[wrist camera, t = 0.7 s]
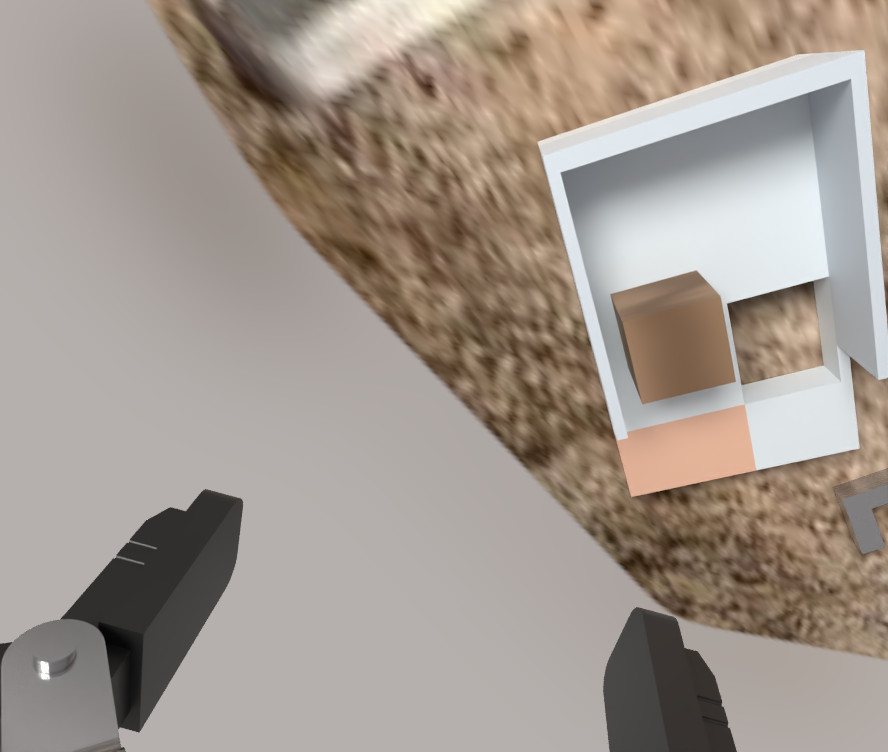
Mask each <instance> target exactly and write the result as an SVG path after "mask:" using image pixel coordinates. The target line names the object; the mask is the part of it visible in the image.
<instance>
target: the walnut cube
mask: <svg viewBox="0 0 888 752" xmlns="http://www.w3.org/2000/svg"><path fill="white" fill-rule="evenodd" d="M610 295H611V299H612V303H613V308H614V312H615V316H616V320H617V324H618V328H619V332H620V336H621V340H622V344H623V348H624V353H625V357H626V361H627V365H628V369H629V371H630V374H631V376H632V379H633V382H634V384H635V387H636V389H637V392H638V394H639V397H640V399H641V402H642V404H646V403H650V402H655V401H659V400H663V399H667V398H671V397H675V396H679V395H684V394H688V393H692V392H696V391H700V390H704V389H708V388H713V387H717V386H721V385H725V384H729V383H733V382H736V378H735V373H734V367H733V362H732V356H731V351H730V345H729V339H728V334H727V328H726V323H725V317H724V312H723V306H722V300H721V296H720V295H719V294H718V293H717V292H716V291H715V290H714V288H713V287H712V286H711V285H710V284H709V283H708V282H707V281H706V280H705V279H704V278H703V277H702V276H701V275H700V273H699V272H698V271H697V270H695V271H692V272H688V273H685V274H681V275H677V276H674V277H670V278H667V279H663V280H659V281H656V282H652V283H649V284H645V285H641V286H638V287H634V288H631V289H627V290H624V291H620V292H616V293H613V294H610Z"/></svg>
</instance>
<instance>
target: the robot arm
mask: <svg viewBox="0 0 888 752" xmlns="http://www.w3.org/2000/svg"><path fill="white" fill-rule="evenodd" d="M242 510H243V501H242V499H240V498H237V497H233V496H229V495H226V494H222V493H218V492H215V491H211V490H206V489H205V490H203V491H202V492H201V493H200V494H199V496H198V497H197V498H196V499H195V501H194V502H193V503H192V504H191V506H190V507H189V508H188V509H187V511H182V510H178V509H174V508H168V509H166V510H164V511H163V512H161V513H159V514H158V515H156V516H154V517H152V518H150V519H148V520H146V521H145V522H144V524H143V525H142V526H141V527H140V529H139V530H138V531H137V532H136V533H135V534H134V535H133V536H132V538H131V539H130V541H129V543H126V545H125V546H124V547H123V548H122V549H121V550H120V551H119V553H118V554H117V556H116V558H115V559H112V561H111V562H110V563H109V564H108V565H107V566H106V567H105V569H104V570H103V571H102V572H101V573H100V574H99V576H98V577H97V578H96V579H95V580H94V582H93V583H92V584H91V585H90V586H89V587H88V588H87V589H86V591H85V592H84V593H83V594H82V595H81V596H80V597H79V599H78V600H77V601H76V602H75V603H74V605H73V606H72V607H71V608H70V609H69V610H68V611H67V613H66V614H65V615H64V616H63V617H62V618H61V619H60V620H53V621H49V622H46V623H42V624H40V625H37V626H35V627H33V628H31V629H29V630H27V631H26V632H24V633H23V634H21V635H20V636H19V637H18V638H16V639H15V640H14V641H13V642H10V643H5V644H4V643H3V644H0V752H126V751H125V748H124V747H123V748H121V744H120V738H119V732H118V729H119V728H120V727H121V728H125V729H129V730H132V731H136V732H140V731H141V729H142V727H143V726H144V724H145V722H146V720H147V719H148V717H149V716H150V714H151V712H152V711H153V709H154V707H155V706H156V704H157V702H158V701H159V699H160V697H161V696H162V694H163V692H164V691H165V689H166V687H167V685H168V684H169V682H170V681H171V679H172V677H173V676H174V674H175V672H176V671H177V669H178V667H179V666H180V664H181V662H182V661H183V659H184V657H185V656H186V654H187V652H188V651H189V649H190V647H191V646H192V644H193V642H194V641H195V639H196V637H197V636H198V634H199V632H200V631H201V629H202V627H203V626H204V624H205V622H206V620H207V619H208V617H209V616H210V614H211V612H212V611H213V609H214V607H215V606H216V604H217V602H218V601H219V599H220V597H221V596H222V594H223V592H224V591H225V589H226V587H227V585H228V583H229V581H230V578H231V576H232V573H233V570H234V567H235V563H236V559H237V552H238V543H239V535H240V526H241V518H242ZM603 692H604V702H605V712H606V721H607V730H608V740H609V749H610V752H737V751H736V747H735V744H734V741H733V737H732V734H731V730H730V728H728V720H727V717H726V713H725V710H724V707H722V700H721V696H720V693H719V689H718V686H717V683H716V679H715V676H714V675H713V673H712V672H711V671H710V669H709V667H708V666H707V664H706V663H705V661H704V660H703V659H702V657H701V656H700V654H699V653H698V652H697V651H693V650H690V649H686V648H684V645H683V640H682V636H681V632H680V629H679V625H678V622H677V620H676V618H674V617H672V616H668V615H664V614H661V613H657V612H653V611H650V610H646V609H642V608H638V607H636V608H635V609H634V610H633V611H632V612H631V615H630V616H629V618H628V621H627V623H626V625H625V627H624V629H623V631H622V633H621V635H620V637H619V639H618V641H617V643H616V645H615V648H614V650H613V652H612V654H611V656H610V658H609V660H608V663H607V667H606V671H605V676H604V686H603Z"/></svg>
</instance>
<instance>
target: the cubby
mask: <svg viewBox="0 0 888 752" xmlns="http://www.w3.org/2000/svg"><path fill="white" fill-rule="evenodd" d="M538 146H539V150H540V154H541V158H542V161H543V165H544V169H545V173H546V176H547V180H548V184H549V188H550V192H551V195H552V199H553V203H554V207H555V211H556V214H557V218H558V222H559V226H560V230H561V233H562V237H563V241H564V245H565V248H566V252H567V256H568V260H569V264H570V267H571V271H572V275H573V279H574V283H575V286H576V290H577V294H578V298H579V302H580V305H581V309H582V313H583V317H584V321H585V324H586V328H587V332H588V336H589V339H590V343H591V347H592V351H593V355H594V358H595V362H596V366H597V370H598V374H599V377H600V381H601V385H602V389H603V393H604V396H605V400H606V404H607V408H608V411H609V415H610V419H611V423H612V427H613V430H614V434H615V438H616V442H617V446H618V449H619V453H620V457H621V461H622V465H623V468H624V472H625V476H626V480H627V483H628V487H629V490H630V494H631V497H634V496H638V495H643V494H648V493H652V492H657V491H662V490H667V489H671V488H676V487H681V486H685V485H690V484H695V483H699V482H704V481H709V480H714V479H718V478H723V477H728V476H732V475H737V474H742V473H746V472H751V471H756V470H761V469H765V468H770V467H775V466H779V465H784V464H789V463H793V462H798V461H803V460H807V459H812V458H817V457H822V456H826V455H831V454H836V453H840V452H845V451H850V450H854V449H859V439H858V430H857V420H856V411H855V402H854V392H853V383H852V374H851V364H850V356H851V357H852V358H853V359H854V360H855V361H857V362H858V363H859V364H860V365H861V366H862V367H864V368H865V369H866V370H867V371H868V372H870V373H871V374H872V375H873V376H874V377H876V378H877V379H878V380H881V379H885V378H888V329H887V317H886V305H885V293H884V281H883V269H882V257H881V245H880V233H879V221H878V209H877V197H876V185H875V172H874V160H873V148H872V136H871V124H870V112H869V100H868V88H867V76H866V64H865V52H864V50H858V51H843V52H829V53H814V54H799V55H795V56H792V57H789V58H786V59H783V60H780V61H777V62H774V63H771V64H768V65H765V66H762V67H759V68H756V69H753V70H750V71H747V72H745V73H742V74H739V75H736V76H733V77H730V78H727V79H724V80H721V81H718V82H715V83H712V84H709V85H706V86H703V87H700V88H697V89H694V90H691V91H688V92H685V93H682V94H679V95H676V96H673V97H670V98H667V99H664V100H661V101H658V102H655V103H652V104H649V105H646V106H643V107H640V108H637V109H634V110H631V111H628V112H625V113H622V114H619V115H616V116H613V117H610V118H607V119H604V120H601V121H598V122H595V123H592V124H589V125H586V126H583V127H580V128H577V129H574V130H571V131H568V132H565V133H562V134H559V135H556V136H553V137H550V138H547V139H545V140H542V141H539V142H538ZM695 270H697V271H698V272H699V273H700V275H701V276H702V277H703V278H704V279H705V280H706V281H707V282H708V283H709V284H710V285H711V286H712V287H713V288H714V290H715V291H716V292H717V293H718V294H719V295H720V296H721V300H722V306H723V312H724V317H725V323H726V328H727V334H728V339H729V345H730V351H731V356H732V362H733V367H734V373H735V378H736V382H733V383H729V384H725V385H721V386H717V387H713V388H708V389H704V390H700V391H696V392H692V393H688V394H684V395H679V396H675V397H671V398H667V399H663V400H659V401H655V402H650V403H646V404H642V402H641V399H640V397H639V394H638V392H637V389H636V387H635V384H634V382H633V379H632V376H631V374H630V371H629V369H628V365H627V361H626V357H625V353H624V348H623V344H622V340H621V336H620V332H619V328H618V324H617V320H616V316H615V312H614V308H613V303H612V299H611V295H610V294H613V293H616V292H620V291H624V290H627V289H631V288H634V287H638V286H641V285H645V284H649V283H652V282H656V281H659V280H663V279H667V278H670V277H674V276H677V275H681V274H685V273H688V272H692V271H695ZM810 281H813V283H814V291H815V299H816V307H817V315H818V323H819V332H820V340H821V348H822V356H823V364H824V366H820V367H815V368H811V369H807V370H803V371H799V372H795V373H790V374H786V375H782V376H778V377H774V378H770V379H765V380H761V381H757V382H753V383H749V384H745V385H741V380H740V375H739V369H738V363H737V358H736V352H735V346H734V341H733V335H732V330H731V324H730V318H729V313H728V307H727V303H731V302H735V301H738V300H742V299H746V298H750V297H753V296H757V295H761V294H765V293H768V292H772V291H776V290H780V289H783V288H787V287H791V286H795V285H799V284H802V283H806V282H810Z"/></svg>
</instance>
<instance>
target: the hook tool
mask: <svg viewBox="0 0 888 752" xmlns="http://www.w3.org/2000/svg"><path fill="white" fill-rule="evenodd" d="M833 489H834V492H835V495H836V497H837V500H838V503H839V505H840V508H841V511H842V513H843V516H844V519H845V521H846V524H847V527H848V529H849V532H850V535H851V537H852V540H853V542H854V543H855V544H856V546H857V547H858V549H859V550H860V551H861V553H862V554H865V553H868V552H871V551H874V550H878V549H881V548H884V547H885V545H884V542H883V539H882V537H881V534H880V531H879V528H878V525H877V523H876V520H875V517H874V514H873V511H872V509H873V508H876V507H879V506H882V505H885V504H888V468H887V469H884V470H881V471H878V472H876V473H873V474H870V475H867V476H864V477H861V478H858V479H855V480H852V481H849V482H846V483H844V484H841V485H838V486H835V487H833Z"/></svg>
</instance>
